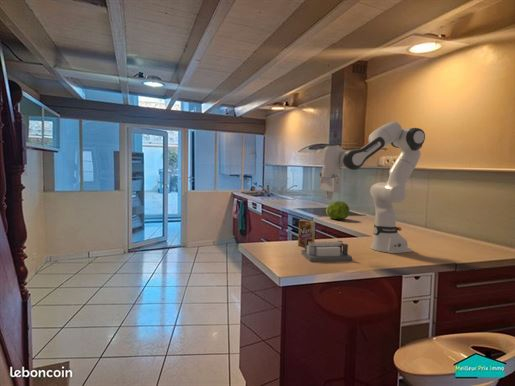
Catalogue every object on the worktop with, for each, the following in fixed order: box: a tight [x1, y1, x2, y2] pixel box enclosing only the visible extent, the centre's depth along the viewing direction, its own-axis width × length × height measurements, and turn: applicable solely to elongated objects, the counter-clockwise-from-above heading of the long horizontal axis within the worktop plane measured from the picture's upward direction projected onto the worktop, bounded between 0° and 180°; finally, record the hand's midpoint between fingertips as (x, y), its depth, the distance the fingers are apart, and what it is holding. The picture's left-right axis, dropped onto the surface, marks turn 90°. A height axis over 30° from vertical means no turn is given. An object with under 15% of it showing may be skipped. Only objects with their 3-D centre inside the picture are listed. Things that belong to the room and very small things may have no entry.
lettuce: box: [325, 200, 350, 221], centre depth 293 cm, size 17×23×17 cm
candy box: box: [297, 219, 316, 248], centre depth 187 cm, size 9×4×15 cm, turn 56°
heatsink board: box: [301, 238, 353, 262], centre depth 166 cm, size 22×14×9 cm, turn 100°
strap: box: [308, 241, 344, 247], centre depth 165 cm, size 18×4×2 cm, turn 100°
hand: (329, 199), depth 175 cm, fingers closed
